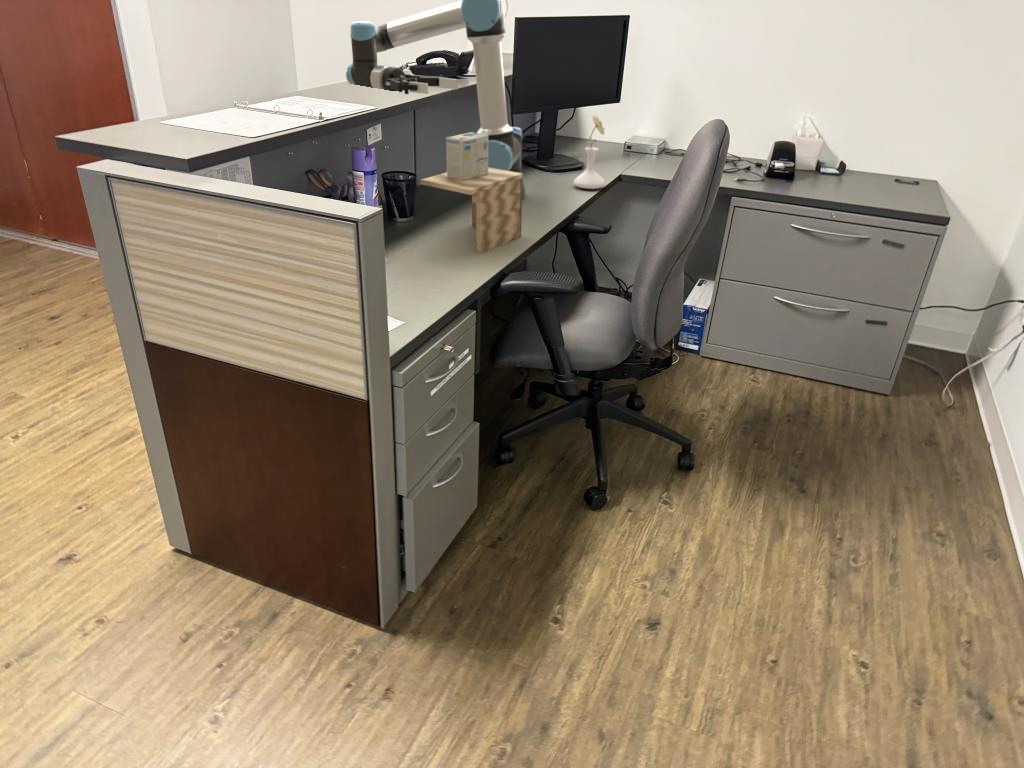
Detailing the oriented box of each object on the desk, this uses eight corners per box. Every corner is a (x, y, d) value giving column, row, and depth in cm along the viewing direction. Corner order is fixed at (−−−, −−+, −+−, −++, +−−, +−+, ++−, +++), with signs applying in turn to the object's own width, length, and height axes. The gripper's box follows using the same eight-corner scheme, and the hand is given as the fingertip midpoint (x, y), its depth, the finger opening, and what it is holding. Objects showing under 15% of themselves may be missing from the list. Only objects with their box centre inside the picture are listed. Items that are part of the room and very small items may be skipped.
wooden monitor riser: (474, 225, 230) (474, 164, 221) (521, 235, 221) (522, 173, 213) (422, 244, 212) (420, 179, 203) (470, 257, 204) (470, 190, 195)
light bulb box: (471, 170, 214) (471, 131, 209) (489, 174, 211) (489, 134, 205) (445, 177, 207) (444, 136, 202) (463, 181, 203) (463, 140, 198)
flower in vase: (603, 192, 268) (610, 119, 256) (572, 190, 269) (576, 117, 257) (605, 183, 279) (611, 112, 267) (575, 181, 281) (579, 111, 269)
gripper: (416, 88, 243) (468, 95, 232) (360, 97, 225) (414, 104, 214) (415, 63, 239) (468, 69, 229) (358, 69, 221) (413, 76, 211)
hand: (442, 86), depth 221 cm, fingers open, 13 cm apart
